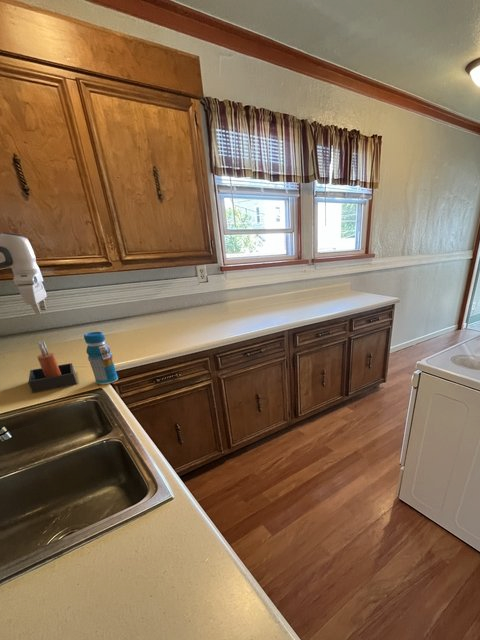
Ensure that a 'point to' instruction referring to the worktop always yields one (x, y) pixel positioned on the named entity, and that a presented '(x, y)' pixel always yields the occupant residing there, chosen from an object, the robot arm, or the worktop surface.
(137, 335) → the worktop surface
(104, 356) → the beverage bottle
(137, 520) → the worktop surface
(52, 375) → the cutlery cup
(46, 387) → the bin
